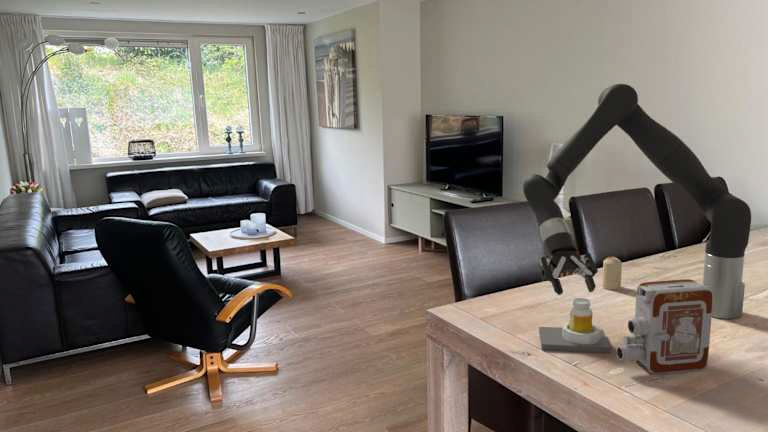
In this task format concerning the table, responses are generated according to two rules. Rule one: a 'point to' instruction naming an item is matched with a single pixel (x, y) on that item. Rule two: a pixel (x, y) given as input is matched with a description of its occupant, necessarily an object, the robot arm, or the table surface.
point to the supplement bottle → (581, 316)
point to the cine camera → (670, 327)
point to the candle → (612, 273)
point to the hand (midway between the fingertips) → (576, 292)
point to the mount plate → (564, 345)
